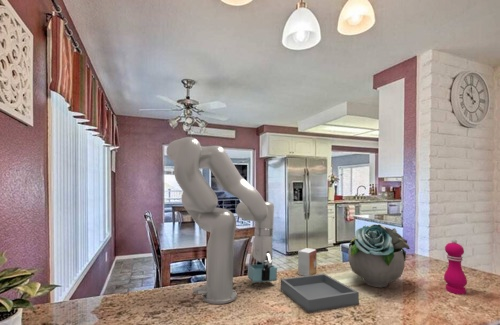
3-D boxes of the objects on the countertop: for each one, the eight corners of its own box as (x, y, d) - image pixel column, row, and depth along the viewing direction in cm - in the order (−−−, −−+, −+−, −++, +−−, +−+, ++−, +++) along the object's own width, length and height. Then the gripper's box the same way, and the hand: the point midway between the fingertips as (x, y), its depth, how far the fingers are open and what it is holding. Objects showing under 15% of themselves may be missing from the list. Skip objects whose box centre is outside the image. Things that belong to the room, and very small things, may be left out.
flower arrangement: (425, 291, 108) (423, 227, 110) (376, 300, 99) (375, 231, 101) (375, 271, 131) (374, 218, 133) (331, 277, 122) (331, 221, 124)
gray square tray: (308, 313, 89) (308, 300, 90) (280, 289, 108) (280, 279, 108) (358, 304, 96) (358, 292, 96) (324, 283, 115) (324, 273, 115)
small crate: (253, 282, 108) (253, 269, 109) (248, 277, 114) (248, 265, 114) (276, 280, 112) (277, 267, 112) (270, 275, 117) (270, 263, 118)
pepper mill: (445, 292, 107) (444, 239, 108) (443, 286, 113) (441, 236, 115) (469, 296, 104) (467, 241, 105) (465, 289, 110) (463, 238, 111)
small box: (309, 277, 122) (309, 252, 123) (297, 274, 126) (297, 250, 126) (316, 272, 129) (316, 249, 129) (305, 270, 132) (305, 247, 133)
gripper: (248, 228, 121) (246, 271, 120) (263, 236, 105) (261, 285, 104) (264, 228, 124) (262, 270, 122) (281, 235, 108) (280, 284, 106)
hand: (262, 276), depth 113 cm, fingers closed on small crate, 6 cm apart
